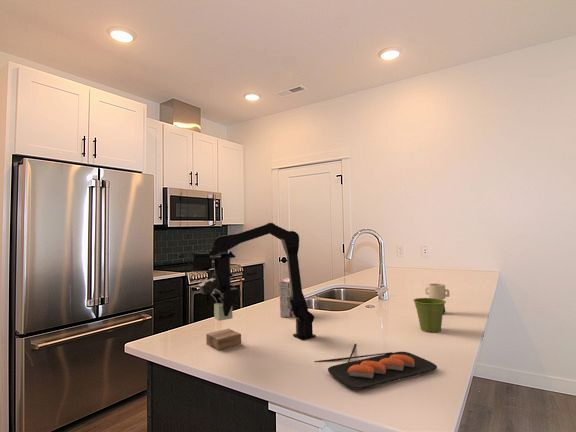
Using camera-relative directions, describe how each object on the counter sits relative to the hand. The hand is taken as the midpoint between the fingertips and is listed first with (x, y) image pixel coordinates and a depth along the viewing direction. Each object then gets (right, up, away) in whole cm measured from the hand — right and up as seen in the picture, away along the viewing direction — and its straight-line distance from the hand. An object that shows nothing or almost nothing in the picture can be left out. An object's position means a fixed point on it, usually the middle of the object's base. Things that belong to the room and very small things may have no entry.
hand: (223, 314), depth 120 cm
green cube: (0, -1, 0) cm, 1 cm away
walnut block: (0, -11, -1) cm, 11 cm away
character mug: (+92, -10, +35) cm, 99 cm away
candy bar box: (+23, -12, +39) cm, 47 cm away
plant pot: (+78, -9, +10) cm, 79 cm away
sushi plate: (+46, -9, -20) cm, 51 cm away
